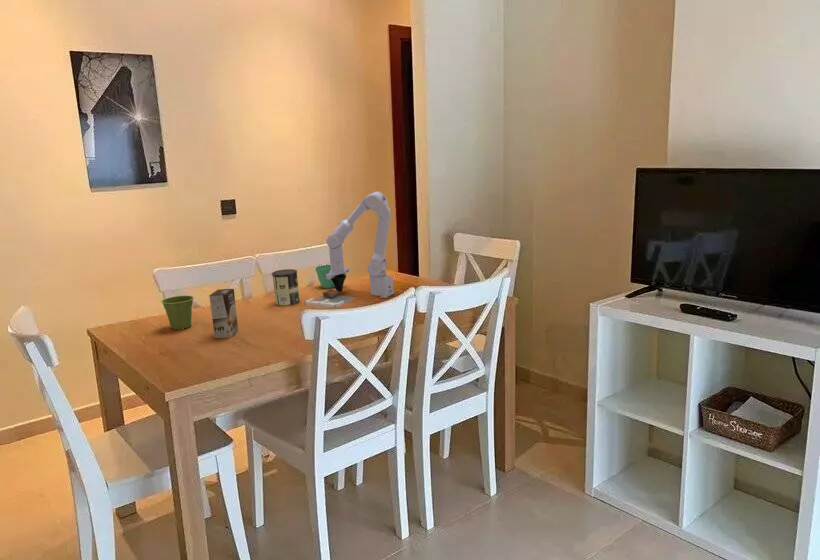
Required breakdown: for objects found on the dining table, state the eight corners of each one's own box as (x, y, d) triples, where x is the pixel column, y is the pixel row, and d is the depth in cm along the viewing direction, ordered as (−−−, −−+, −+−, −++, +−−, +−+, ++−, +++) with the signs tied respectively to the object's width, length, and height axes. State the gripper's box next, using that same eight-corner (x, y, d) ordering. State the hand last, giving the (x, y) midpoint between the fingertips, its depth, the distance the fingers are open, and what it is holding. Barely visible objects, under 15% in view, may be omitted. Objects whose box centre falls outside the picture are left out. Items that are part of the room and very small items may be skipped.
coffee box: (231, 337, 229) (226, 294, 226) (214, 338, 230) (208, 295, 226) (239, 329, 238) (234, 288, 235) (222, 330, 239) (216, 289, 235)
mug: (313, 290, 291) (311, 269, 288) (324, 285, 299) (322, 264, 297) (341, 292, 285) (340, 270, 282) (352, 286, 293) (350, 265, 291)
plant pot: (202, 326, 245) (198, 298, 243) (172, 334, 238) (168, 305, 235) (190, 320, 254) (186, 293, 251) (160, 328, 246) (156, 299, 244)
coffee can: (297, 299, 276) (294, 267, 273) (302, 305, 267) (299, 272, 264) (273, 303, 273) (270, 271, 270) (277, 309, 264) (273, 275, 260)
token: (338, 296, 275) (337, 290, 274) (332, 298, 271) (331, 293, 271) (329, 295, 277) (329, 289, 277) (323, 297, 274) (323, 292, 273)
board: (358, 299, 271) (357, 294, 271) (335, 309, 258) (335, 304, 257) (327, 296, 279) (327, 291, 279) (304, 306, 266) (304, 301, 265)
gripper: (339, 257, 284) (341, 286, 288) (319, 264, 272) (321, 295, 275) (352, 258, 281) (354, 288, 284) (332, 265, 269) (335, 296, 272)
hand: (339, 291), depth 279 cm, fingers closed
